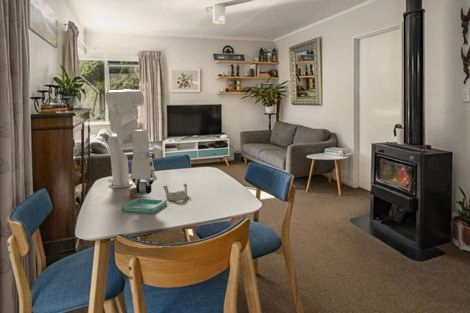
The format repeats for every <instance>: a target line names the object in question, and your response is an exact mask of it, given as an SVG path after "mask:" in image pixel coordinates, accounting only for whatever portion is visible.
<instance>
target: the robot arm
mask: <svg viewBox="0 0 470 313" xmlns="http://www.w3.org/2000/svg"><path fill="white" fill-rule="evenodd" d="M104 99H105V103H106V105H107V107H108V111H109V112H108V113H109V130H110V132H111V133H113V134H111V135H110V136H109V137H108V139H107V145H108V148H109V156H110V163H111V164H110V165H111V176H112V178H111V177H110V178H108V179H107V182H108V183H110V184H109V185H110V187H111V188H113V189H123V188H124V189H125V188H128V187H131V186H132V185H133V183H134V185H135V188H136V191H137V193H139V184H138V182H141V180H142V181H146V183H147V186H146V191H147V194H146V195H150V194H151V193H152V185H153V183H154V182H156V181H157V179H158V177H157V176H156V175H155V166H154V161H153V158H152V155H153V154H152V153H151V152H150V143H149V142H150V140H149V131H148V130H147V129H145V128H143V127H139V123H138V119H137V116H138V110H137V107H142V106H143V105H144V104H145V96H144V93H143V92H142V91H141V90H137V89H132V90H131V89H123V90H121V89H118V90H117V89H116V90H115V89H114V90H108V91H106V92H105V94H104ZM125 150H132V160H131V174H130V173H129V162H128V160H129V159H128V156H127V154H126V153H125V152H124V151H125ZM130 180H131V181H130Z"/></svg>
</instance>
